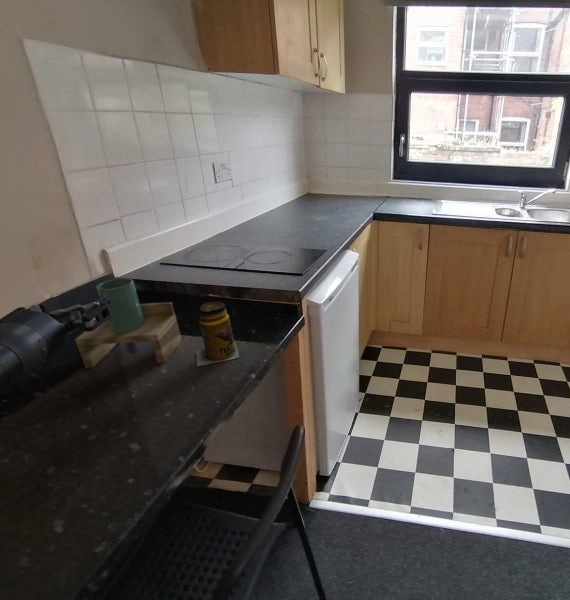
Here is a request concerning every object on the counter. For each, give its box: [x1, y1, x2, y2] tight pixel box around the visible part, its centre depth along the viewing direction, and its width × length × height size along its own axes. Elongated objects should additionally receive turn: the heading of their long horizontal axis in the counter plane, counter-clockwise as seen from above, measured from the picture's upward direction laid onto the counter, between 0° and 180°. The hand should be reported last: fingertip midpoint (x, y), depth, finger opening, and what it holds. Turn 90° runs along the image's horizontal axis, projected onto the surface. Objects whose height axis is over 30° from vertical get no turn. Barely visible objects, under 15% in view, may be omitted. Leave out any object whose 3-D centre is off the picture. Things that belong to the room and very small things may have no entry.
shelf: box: [74, 301, 183, 369], centre depth 89 cm, size 16×10×10 cm, turn 97°
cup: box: [95, 277, 145, 333], centre depth 86 cm, size 6×6×10 cm
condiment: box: [195, 301, 240, 368], centre depth 88 cm, size 7×8×12 cm
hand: (81, 300), depth 74 cm, fingers open, 8 cm apart
